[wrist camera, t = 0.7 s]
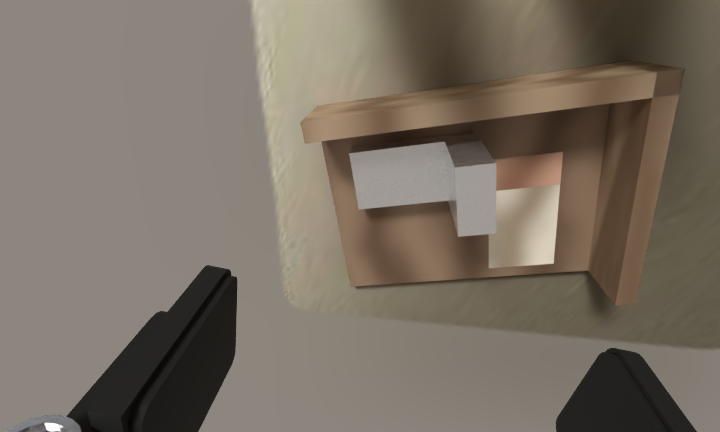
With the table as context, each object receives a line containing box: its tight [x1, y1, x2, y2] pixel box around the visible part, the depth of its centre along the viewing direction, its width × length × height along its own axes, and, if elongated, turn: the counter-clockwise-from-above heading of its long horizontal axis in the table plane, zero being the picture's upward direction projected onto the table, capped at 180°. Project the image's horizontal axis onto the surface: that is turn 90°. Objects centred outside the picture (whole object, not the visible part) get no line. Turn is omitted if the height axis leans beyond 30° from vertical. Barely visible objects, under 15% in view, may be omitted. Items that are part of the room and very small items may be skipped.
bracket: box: [349, 131, 496, 237], centre depth 28 cm, size 10×5×8 cm, turn 99°
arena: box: [300, 61, 685, 306], centre depth 31 cm, size 24×18×6 cm
